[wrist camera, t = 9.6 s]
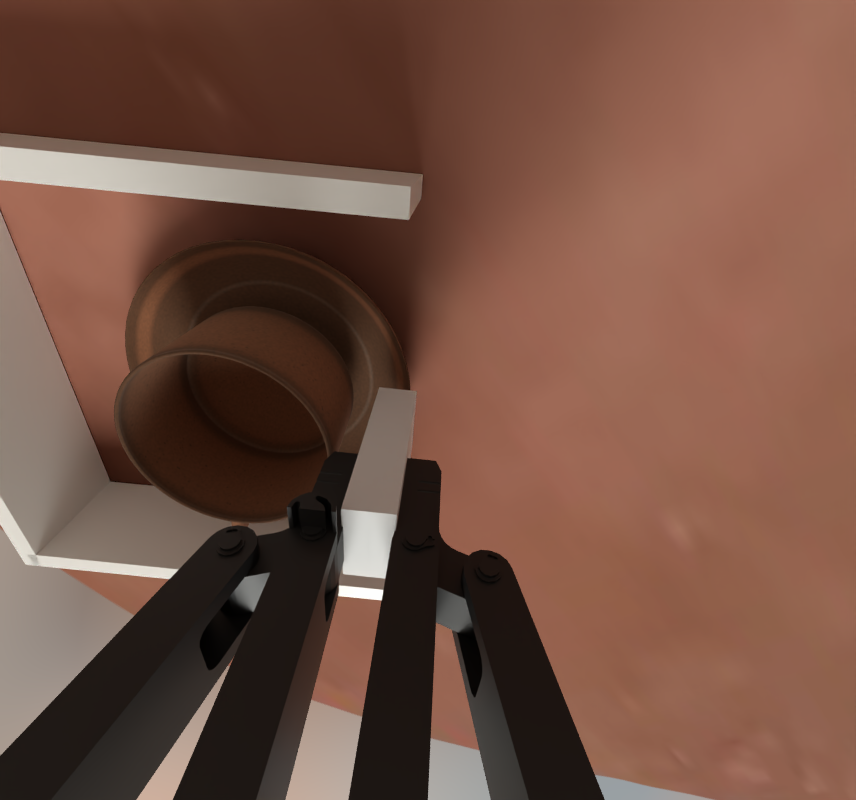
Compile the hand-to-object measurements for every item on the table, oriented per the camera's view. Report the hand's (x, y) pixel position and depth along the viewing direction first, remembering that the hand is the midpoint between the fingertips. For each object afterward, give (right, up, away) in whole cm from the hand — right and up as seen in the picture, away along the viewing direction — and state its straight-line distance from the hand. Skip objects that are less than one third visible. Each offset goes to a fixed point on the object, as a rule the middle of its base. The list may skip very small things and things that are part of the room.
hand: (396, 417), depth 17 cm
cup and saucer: (-5, +2, +3) cm, 6 cm away
